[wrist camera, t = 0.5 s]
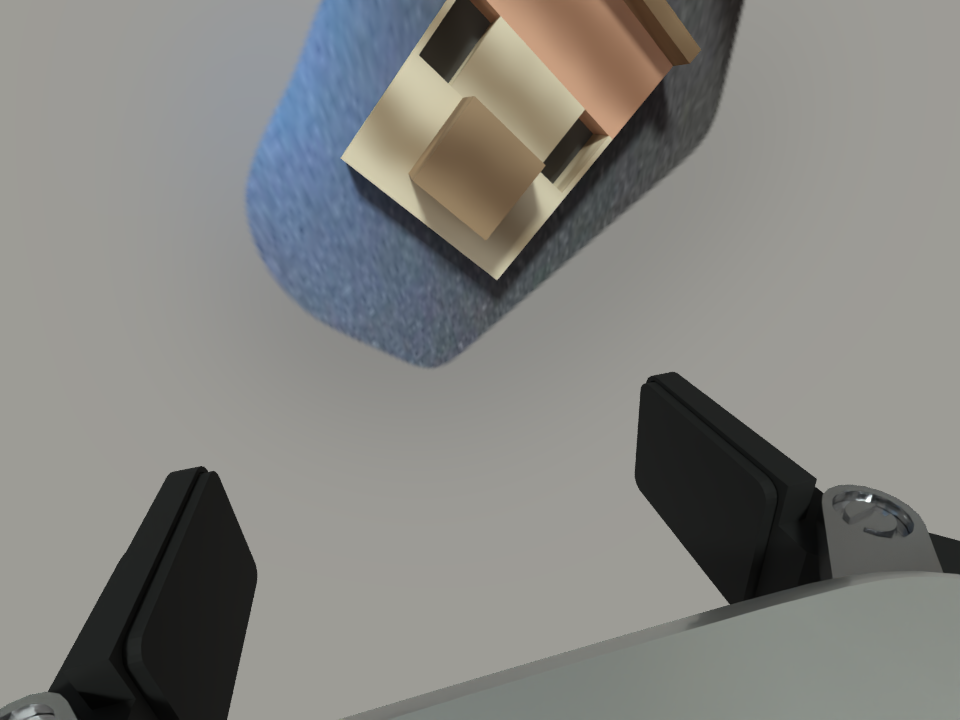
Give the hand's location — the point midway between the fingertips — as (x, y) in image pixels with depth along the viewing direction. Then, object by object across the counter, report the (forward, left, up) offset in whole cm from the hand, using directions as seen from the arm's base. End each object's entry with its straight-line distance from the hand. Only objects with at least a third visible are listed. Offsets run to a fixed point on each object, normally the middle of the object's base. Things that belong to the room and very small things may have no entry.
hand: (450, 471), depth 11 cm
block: (-5, +5, -27) cm, 28 cm away
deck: (-9, +7, -30) cm, 32 cm away
